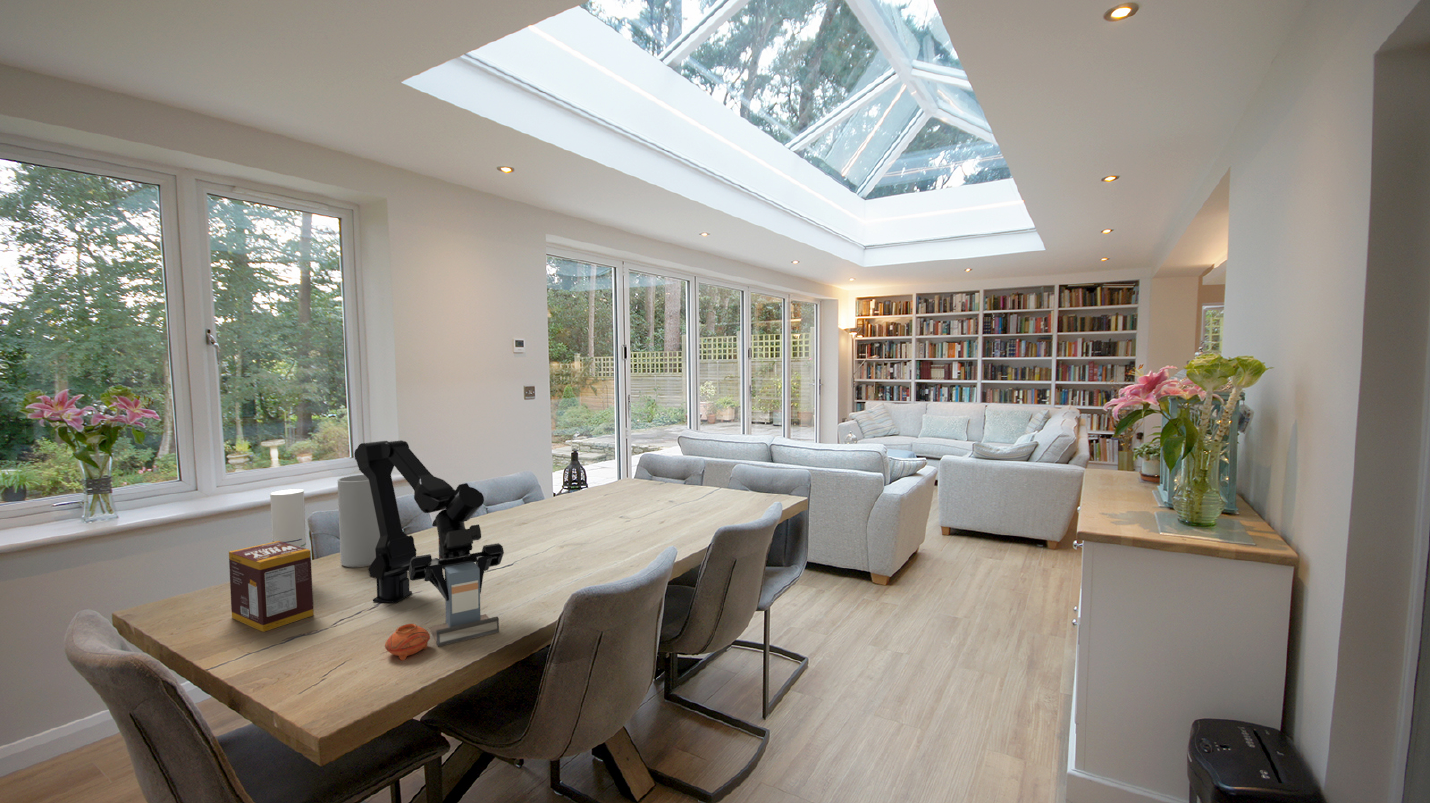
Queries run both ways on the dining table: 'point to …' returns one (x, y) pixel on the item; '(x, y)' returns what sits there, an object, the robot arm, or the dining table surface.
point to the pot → (407, 640)
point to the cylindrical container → (288, 517)
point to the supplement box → (271, 585)
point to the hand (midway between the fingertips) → (463, 596)
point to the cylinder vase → (357, 522)
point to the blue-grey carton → (462, 594)
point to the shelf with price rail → (464, 630)
